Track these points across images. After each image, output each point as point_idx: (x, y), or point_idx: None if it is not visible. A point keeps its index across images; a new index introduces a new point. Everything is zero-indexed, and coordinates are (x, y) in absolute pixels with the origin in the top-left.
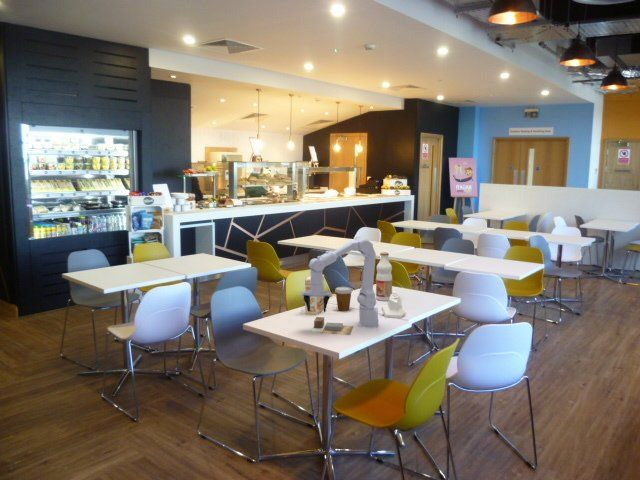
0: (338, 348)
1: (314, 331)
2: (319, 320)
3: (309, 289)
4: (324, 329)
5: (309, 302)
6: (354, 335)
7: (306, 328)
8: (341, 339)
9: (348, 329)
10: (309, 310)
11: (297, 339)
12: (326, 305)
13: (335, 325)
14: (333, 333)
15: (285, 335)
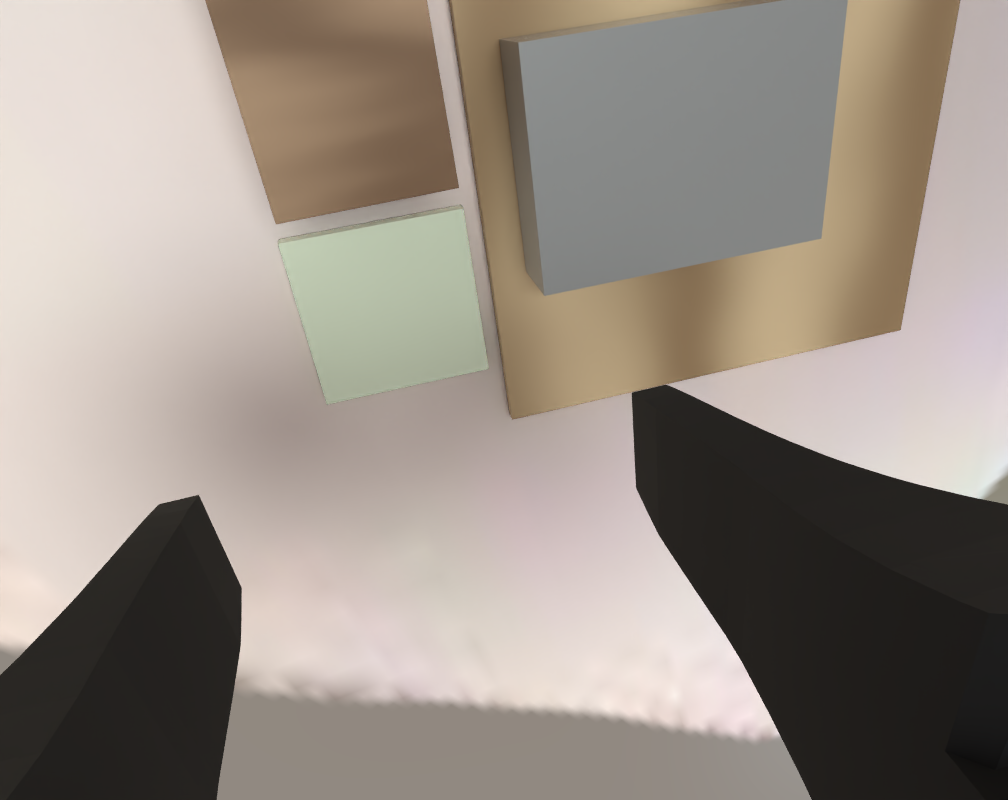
0: None
1: (383, 377)
2: (377, 139)
3: None
4: (504, 225)
5: (133, 744)
6: (942, 294)
7: (141, 226)
8: None
9: (887, 91)
10: (232, 587)
11: (292, 667)
12: (777, 453)
13: (720, 192)
14: (680, 358)
15: (43, 627)
